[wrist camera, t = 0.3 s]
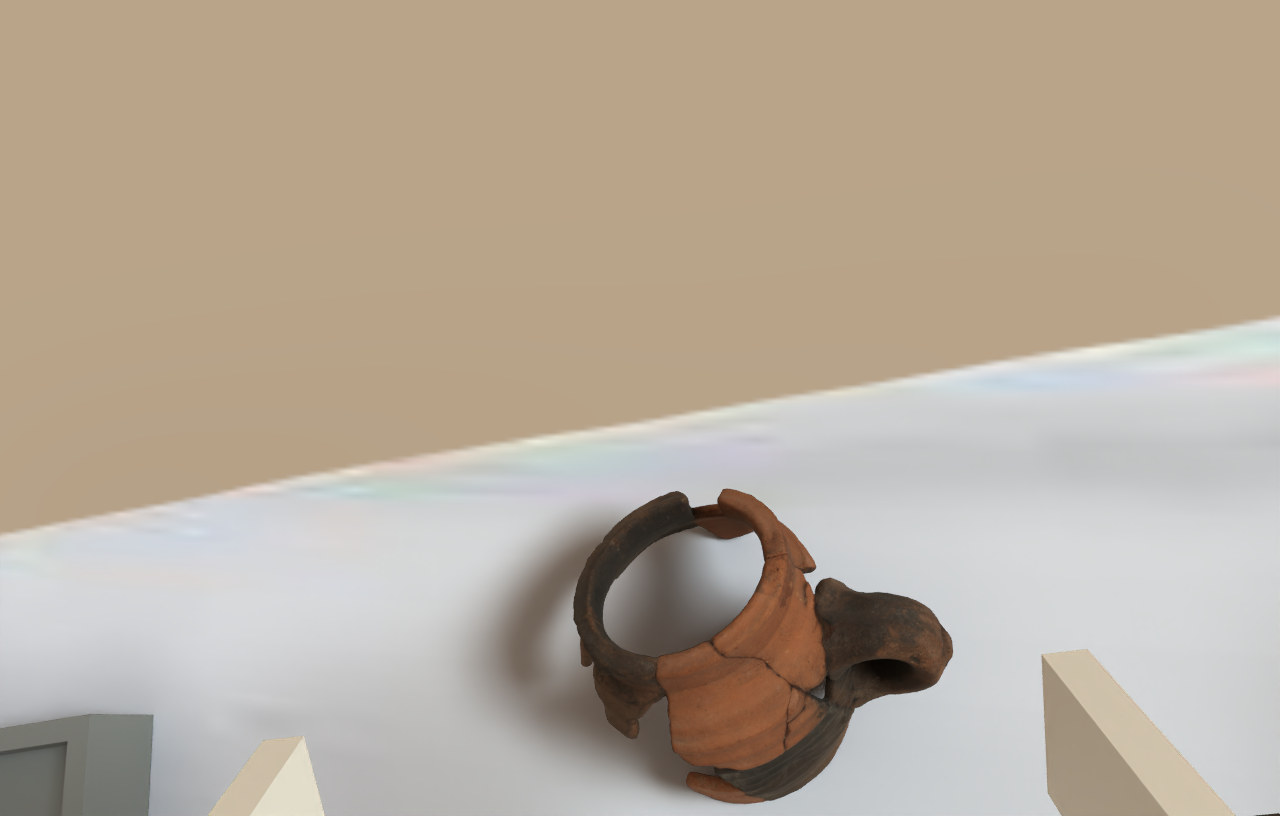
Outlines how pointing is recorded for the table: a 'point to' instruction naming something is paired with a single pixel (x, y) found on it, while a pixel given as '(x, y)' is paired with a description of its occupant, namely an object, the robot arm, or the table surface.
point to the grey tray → (77, 766)
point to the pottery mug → (757, 655)
